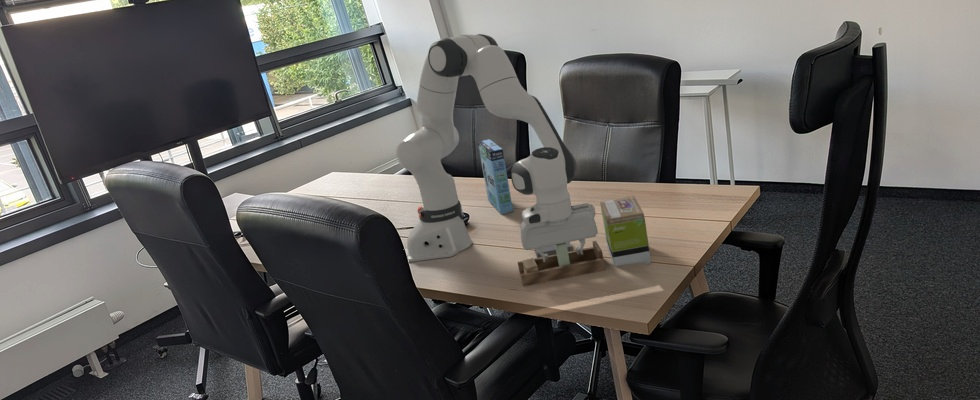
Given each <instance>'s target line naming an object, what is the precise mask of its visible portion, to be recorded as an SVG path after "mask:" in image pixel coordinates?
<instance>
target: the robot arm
mask: <svg viewBox="0 0 980 400" xmlns="http://www.w3.org/2000/svg"><path fill="white" fill-rule="evenodd" d="M469 75H470V76H471V77H473V79H474V81H475V83H476V86H477V89H478V91H479V95H480V98H481V100H482V103H483V105H484V107H485V108H486V110H487V111H488V112H489V113H490V114H492V115H494V116H496V117H499V118H503V119H511V120H518V121H522V122H525V123H527V124H529V126H531V127H532V129H533V130H534V132H535V134H536V136H537V137H538V139H539V141H540V143H541V144H542V146H543V147H539V148H535V149H534V150H532V152H531V153H530V155H529V156H528V157H526V158H522V159H520V160H517V162H515V163H514V164H513V166H512V167H511V171H510V179H511V180H510V181H511V183H512V186H513V188H514V190H516V191H517V192H518V193H520V194H522V195H524V196H526V195H527V196H528V195H529V196H530V195H535V197H536V200H535V201H536V203H535V204H533V205H532V206H531V205H530V207H528V208H525V209H523V211H521V218H522V222H521V223H520V224H521V225H520V239H521V246H522V248H523V249H524V250H526V251H530V250H534V249H536V248H537V251H538V253H539V254H540V255H541V256H542V258H543V262H548V261H549V259H548V254H544V253H543V252H542V251H543V249H542V247H546V246H551V245H556V244H561V243H566V242H570V243H571V242H576V241H579V244H578V246H577V247H575V250H576V253H577V255H583V251H582V249H584V247H585V244H586V240H587V239H590V238H595V237H597V235H598V232H599V231H598V227H597V223H596V220H595V217H596V208H595V206H594V205H593V204H591V203H588V202H583V204H582V203H581V204H575V205H572V202H571V200H572V199H571V194H570V193H569V191H568V190H569V189H568V184H570V183H571V182H572V181H573V179H574V178H575V176H576V174H577V169H578V163H577V161H576V159H575V156H574V155H573V154H572V152H571V151H570V150H569V148H568V147H567V146H566V144H565V142H564V141H563V139H562V138H561V135H559V133H558V131H557V129H556V127H555V125H554V123H553V122H552V120H551V118H550V117H549V115H548V113H547V111H546V110H545V108H544V107H543V105H542V104H541V102H540V100H539V99H538V98H537V97H536V96H534V95H531V94H529V93H528V92H527V90H526V89H524V87H523V86H522V85H521V83H520V80H519V78H518V75H517V74H516V71H515V69H514V66H513V65H512V63H511V61H510V59H509V56H508V55H507V54H506V52H505V50H504V49H503V48H502V47H500V46H499V44H498V43H497V41H496V39H494V38H493V37H492V36H490V35H487V34H483V33H478V34H461V35H457V36H452V37H443V38H441V39H437V40H436V41H434V42H433V43H432V44H431V45H430V47H429V49H428V54H427V55H426V58H425V60H424V63H423V67H422V69H421V74H420V79H419V85H418V93H417V98H416V105H415V106H416V111H417V112H418V113H419V115H421V125H420V127H419V129H418V130H416V131H414V132H412V133H410V134H408V135H407V136H406V137H404V138H403V139H402V140H401V142H400V143H399V144H398V145H397V147H396V152H395V153H396V154H395V155H396V159H397V161H398V163H399V164H400V166H401V167H402V168H404V169H405V170H407V171H408V172H410V174H411V175H412V176H413V178H414V179H415V182H416V184H417V186H418V189H419V193H420V197H421V202H422V205H423V206H418V207H417V213H418V219H419V221H418V222H417V223H416V225H414V227H413V228H412V229H411V230H410V231H409V233H408V235H407V238H406V239H407V240H406V243H407V245H406V246H405V247H404V249H405V250H406V253H407V257H408V260H409V262H408V263H412V262H419V261H427V260H434V259H435V260H436V259H442V258H443V259H444V258H450V257H454V256H455V255H457V254H458V253H459V252H461V251H462V252H463V251H464V250H465V249H467V248H469V247H470V246H471V245H472V244H473V240H472V238H471V237H470V234H469V232H468V229H467V228H466V224H465V222H464V211H463V207H462V204H461V201H460V200H459V197H458V191H457V187H456V183H455V178H454V177H453V176H452V174H449V173H447V172H446V170H445V169H444V166H443V164H442V159H443V158H445V157H447V156H449V155H450V154H451V153H452V152H453V151H454V150H455V149H456V148H457V147H458V145H459V141H460V135H459V131H458V129H457V128H456V127H455V125H454V108H455V101H456V98H457V96H456V95H457V89H458V86H459V85H458V83H459V78H460V77H466V76H469Z"/></svg>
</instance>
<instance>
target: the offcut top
mask: <svg viewBox="0 0 980 400" xmlns="http://www.w3.org/2000/svg"><path fill="white" fill-rule="evenodd" d="M534 259H535V258H534V257H531V258H527V259H523V260H521V261H523V267H524V269H525V271H526V273H530V272H535V271H538V266H537V264H536V262H535V261H534Z"/></svg>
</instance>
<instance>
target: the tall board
mask: <svg viewBox="0 0 980 400" xmlns="http://www.w3.org/2000/svg"><path fill="white" fill-rule="evenodd" d="M555 247H556V253H557V259H558V264H559V267H560V266H565V265H570V261H569V255H568V249H567V245H566V243H561V244H556V245H555Z"/></svg>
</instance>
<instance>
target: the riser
mask: <svg viewBox="0 0 980 400" xmlns="http://www.w3.org/2000/svg"><path fill="white" fill-rule="evenodd" d="M566 245H567V249H568V252H570V251H573V246H572V244H571V242H566ZM542 249H543V251H542V252H543V253H544V254H548V256H550V255H555V254H557V253H556V247H555V245H551V246H546V247H542ZM533 250H534V253H535V256H536V258H540V257H542V256H541V255H540V254H539V253H538V251H537V248H536V249H533Z"/></svg>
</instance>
